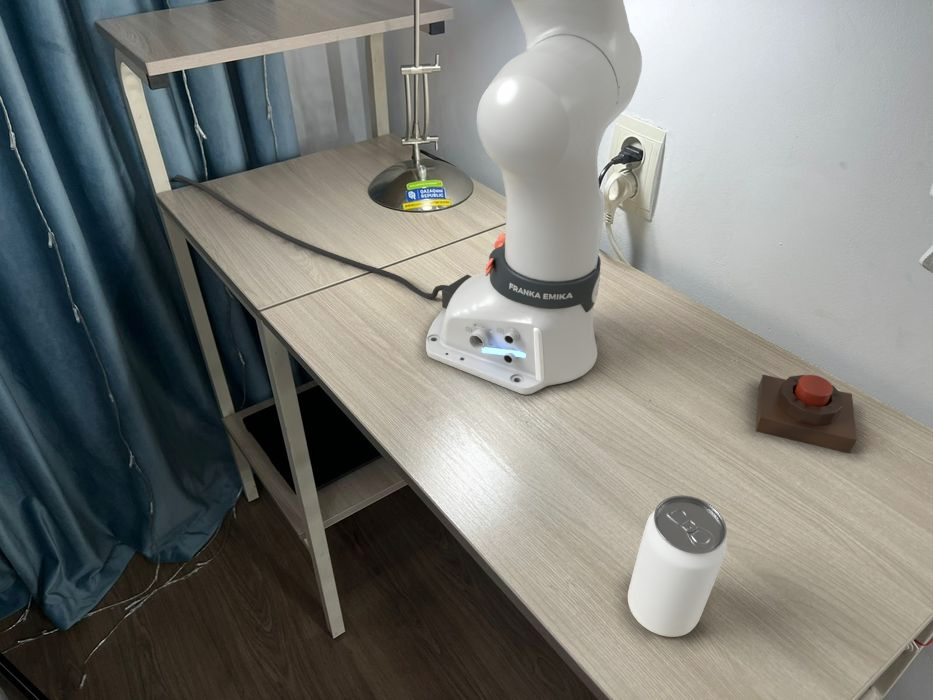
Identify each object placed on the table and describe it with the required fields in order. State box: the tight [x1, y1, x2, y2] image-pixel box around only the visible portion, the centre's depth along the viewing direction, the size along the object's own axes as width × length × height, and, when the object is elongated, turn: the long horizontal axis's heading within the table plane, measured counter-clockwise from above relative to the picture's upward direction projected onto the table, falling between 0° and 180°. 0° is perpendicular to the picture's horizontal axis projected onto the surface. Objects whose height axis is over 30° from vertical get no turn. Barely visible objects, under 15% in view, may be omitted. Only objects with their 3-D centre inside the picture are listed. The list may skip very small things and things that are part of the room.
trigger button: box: [795, 374, 833, 407], centre depth 78 cm, size 4×4×2 cm
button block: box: [755, 374, 857, 454], centre depth 80 cm, size 10×8×4 cm
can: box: [627, 494, 728, 638], centre depth 59 cm, size 6×6×12 cm
